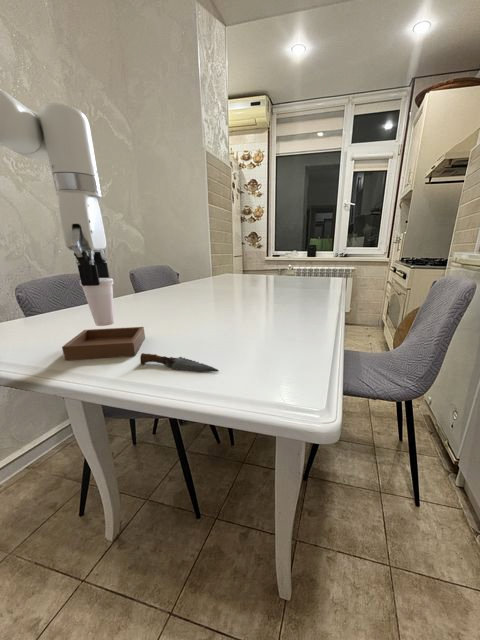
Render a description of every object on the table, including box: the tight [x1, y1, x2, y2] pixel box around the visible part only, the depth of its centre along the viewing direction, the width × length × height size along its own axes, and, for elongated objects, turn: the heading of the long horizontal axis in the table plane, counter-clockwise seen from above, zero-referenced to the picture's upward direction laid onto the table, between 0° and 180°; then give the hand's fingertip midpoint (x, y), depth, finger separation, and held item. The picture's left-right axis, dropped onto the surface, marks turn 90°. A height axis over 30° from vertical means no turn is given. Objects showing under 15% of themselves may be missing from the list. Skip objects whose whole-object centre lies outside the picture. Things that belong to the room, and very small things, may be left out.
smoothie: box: [78, 277, 115, 327], centre depth 62 cm, size 6×6×14 cm
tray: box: [61, 326, 146, 361], centre depth 66 cm, size 14×13×3 cm
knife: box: [139, 352, 219, 373], centre depth 56 cm, size 17×2×5 cm
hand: (96, 282), depth 62 cm, fingers closed on smoothie, 6 cm apart
